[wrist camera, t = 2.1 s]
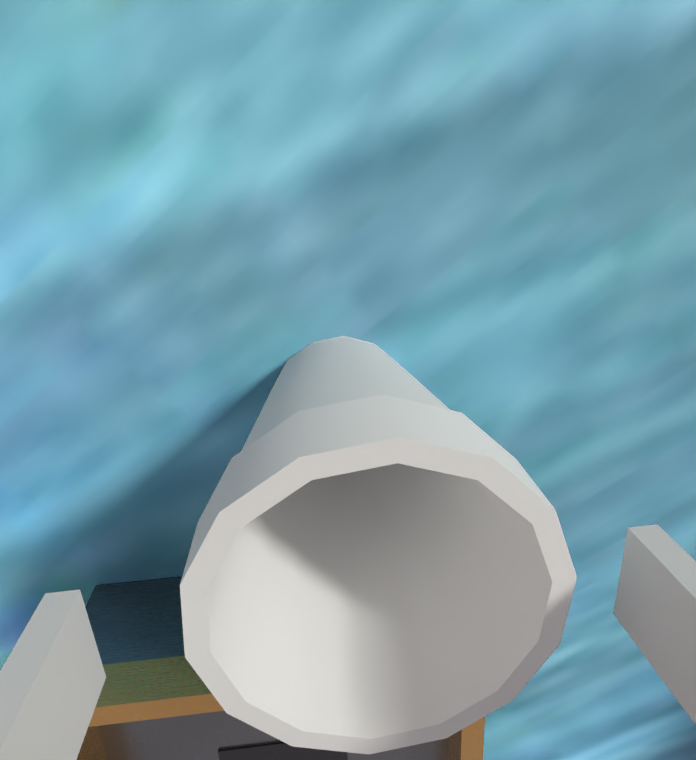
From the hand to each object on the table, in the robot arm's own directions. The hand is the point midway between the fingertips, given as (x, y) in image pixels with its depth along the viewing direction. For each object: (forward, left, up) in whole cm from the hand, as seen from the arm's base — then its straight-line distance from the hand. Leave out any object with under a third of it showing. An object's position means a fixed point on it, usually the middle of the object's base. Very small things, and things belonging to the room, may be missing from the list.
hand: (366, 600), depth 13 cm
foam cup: (0, 0, -13) cm, 13 cm away
